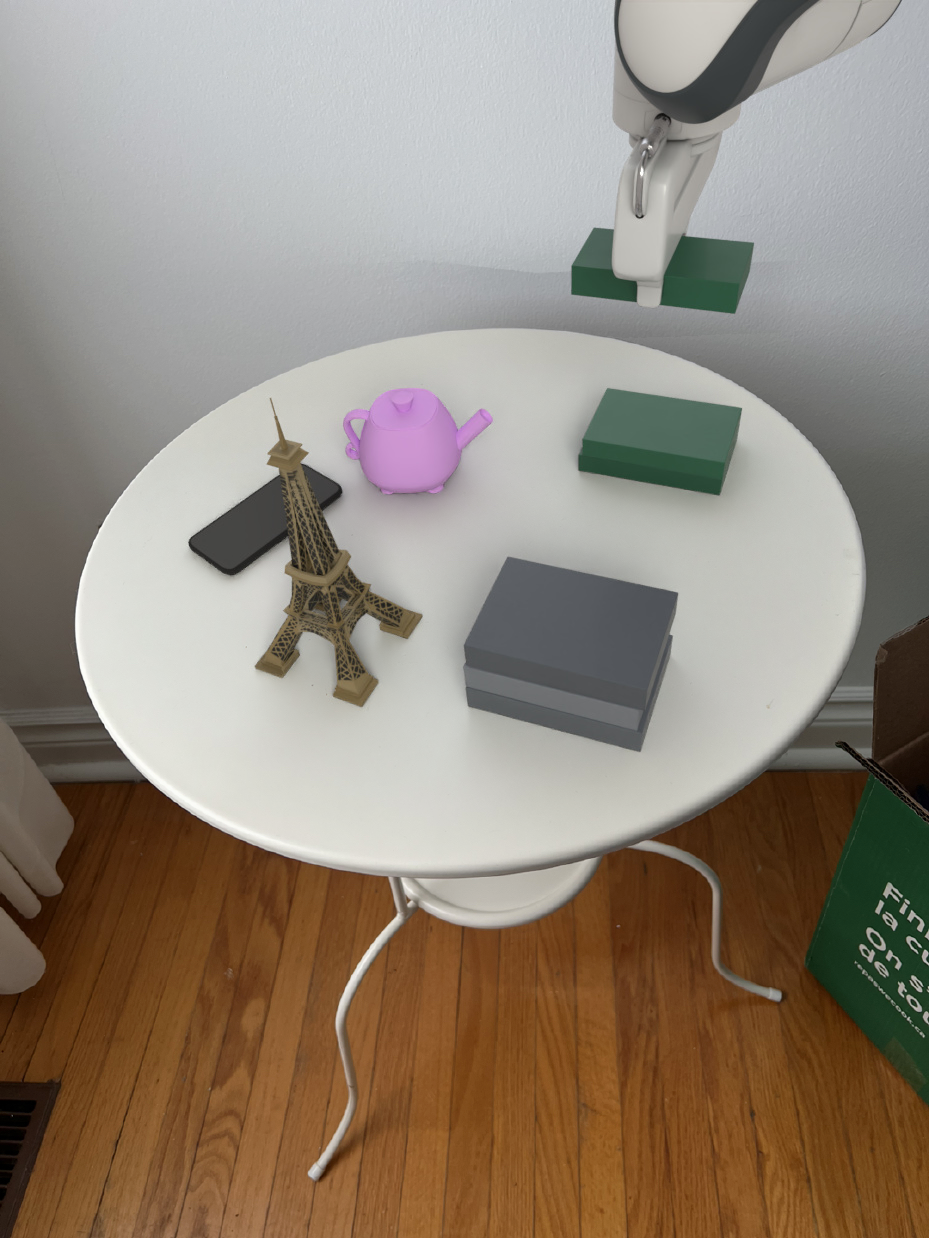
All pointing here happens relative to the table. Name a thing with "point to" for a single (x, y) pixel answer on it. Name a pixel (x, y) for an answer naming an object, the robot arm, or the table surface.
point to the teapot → (410, 440)
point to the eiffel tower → (323, 586)
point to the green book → (670, 273)
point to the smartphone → (255, 524)
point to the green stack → (661, 440)
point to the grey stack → (570, 651)
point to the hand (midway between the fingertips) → (661, 277)
